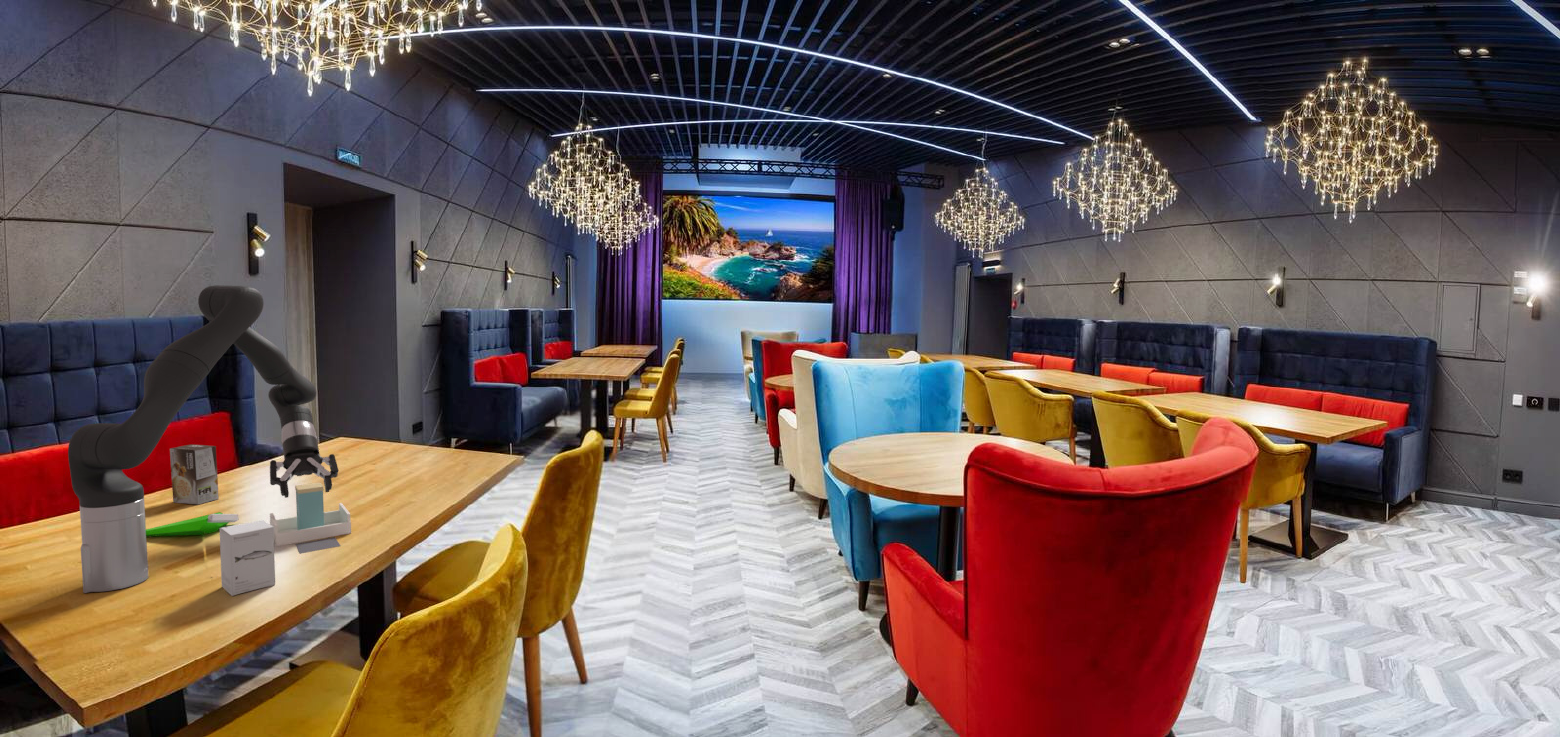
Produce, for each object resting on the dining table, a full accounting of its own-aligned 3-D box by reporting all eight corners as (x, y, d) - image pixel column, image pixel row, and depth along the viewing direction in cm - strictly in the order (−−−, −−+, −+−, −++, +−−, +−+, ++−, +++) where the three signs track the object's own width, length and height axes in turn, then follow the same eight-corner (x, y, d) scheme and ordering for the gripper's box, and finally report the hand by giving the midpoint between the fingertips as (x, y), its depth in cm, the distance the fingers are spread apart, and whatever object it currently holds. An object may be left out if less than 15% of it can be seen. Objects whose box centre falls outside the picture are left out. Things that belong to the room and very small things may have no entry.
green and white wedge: (89, 554, 154) (212, 532, 160) (89, 531, 155) (211, 510, 160) (126, 551, 165) (240, 531, 170) (126, 530, 166) (239, 511, 171)
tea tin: (299, 537, 162) (297, 489, 161) (296, 531, 166) (295, 485, 165) (324, 532, 165) (323, 486, 164) (321, 527, 169) (320, 482, 168)
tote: (276, 548, 156) (275, 526, 155) (270, 534, 165) (269, 512, 165) (351, 535, 166) (350, 514, 165) (341, 522, 176) (341, 502, 175)
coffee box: (220, 498, 193) (217, 445, 192) (197, 505, 187) (195, 450, 186) (194, 496, 195) (191, 443, 193) (171, 502, 189) (168, 448, 187)
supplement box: (231, 597, 130) (228, 535, 129) (221, 587, 134) (218, 527, 133) (276, 585, 136) (274, 526, 134) (265, 576, 140) (262, 518, 139)
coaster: (299, 555, 151) (299, 553, 151) (295, 546, 157) (295, 543, 157) (340, 548, 157) (340, 545, 157) (334, 539, 163) (334, 536, 163)
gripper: (266, 436, 167) (273, 489, 160) (333, 430, 177) (342, 480, 169) (265, 453, 171) (271, 506, 164) (330, 446, 181) (339, 496, 174)
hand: (307, 493), depth 167 cm, fingers open, 8 cm apart
